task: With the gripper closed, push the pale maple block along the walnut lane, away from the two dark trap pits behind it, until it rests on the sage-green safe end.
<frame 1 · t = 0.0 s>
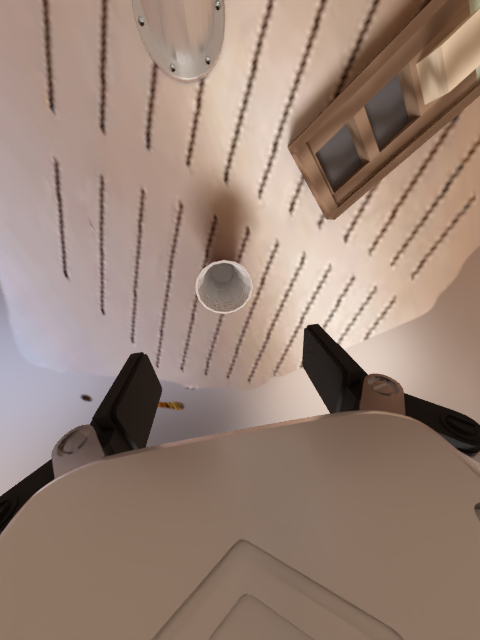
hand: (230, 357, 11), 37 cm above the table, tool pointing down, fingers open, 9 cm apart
maple block: (438, 69, 32), point 2 cm above the table, touching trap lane
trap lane: (399, 101, 35), on the table
plastic cup: (222, 272, 46), on the table
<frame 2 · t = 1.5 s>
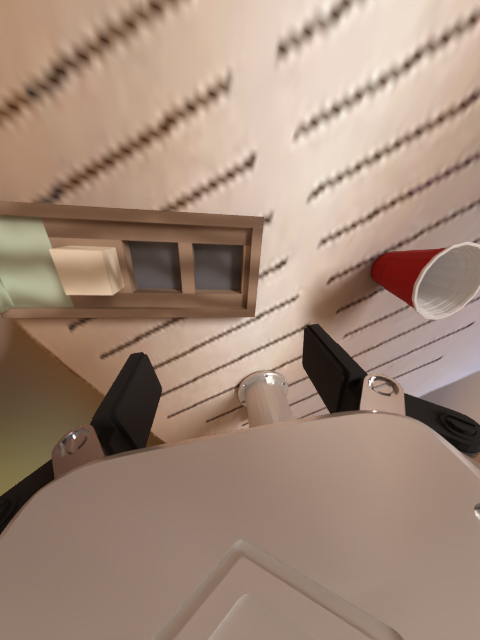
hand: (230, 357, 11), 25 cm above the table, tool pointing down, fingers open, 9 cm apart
maple block: (99, 267, 29), point 2 cm above the table, touching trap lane
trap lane: (136, 265, 32), on the table
plastic cup: (385, 266, 37), on the table
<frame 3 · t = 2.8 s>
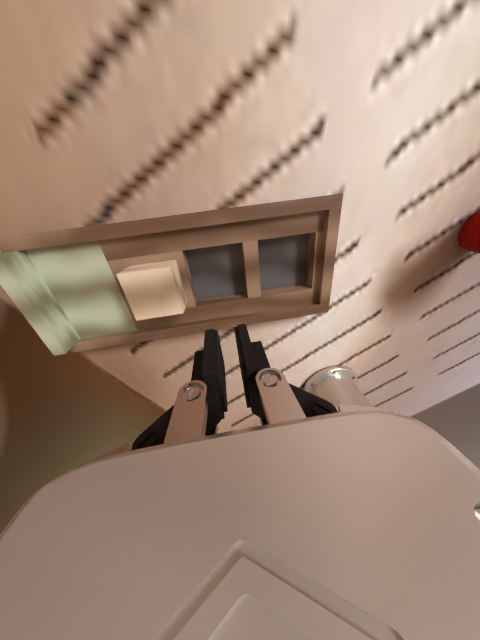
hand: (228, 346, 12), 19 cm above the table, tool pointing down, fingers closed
maple block: (160, 284, 27), point 2 cm above the table, touching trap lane
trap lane: (194, 275, 29), on the table
plastic cup: (475, 227, 31), on the table
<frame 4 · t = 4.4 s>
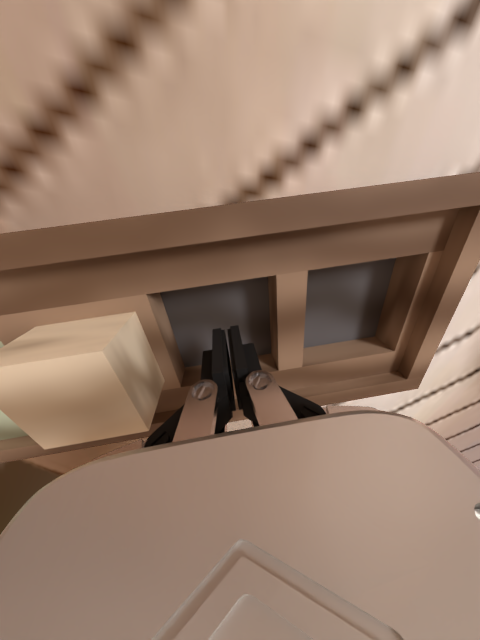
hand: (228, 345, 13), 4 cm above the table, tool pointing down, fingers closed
maple block: (108, 356, 13), point 2 cm above the table, touching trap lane
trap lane: (179, 328, 16), on the table
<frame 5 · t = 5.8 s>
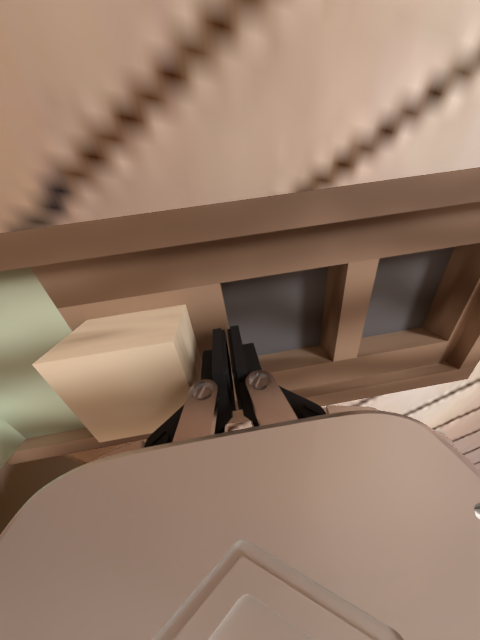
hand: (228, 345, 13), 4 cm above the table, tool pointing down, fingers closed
maple block: (153, 350, 13), point 2 cm above the table, touching gripper, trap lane
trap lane: (233, 319, 16), on the table
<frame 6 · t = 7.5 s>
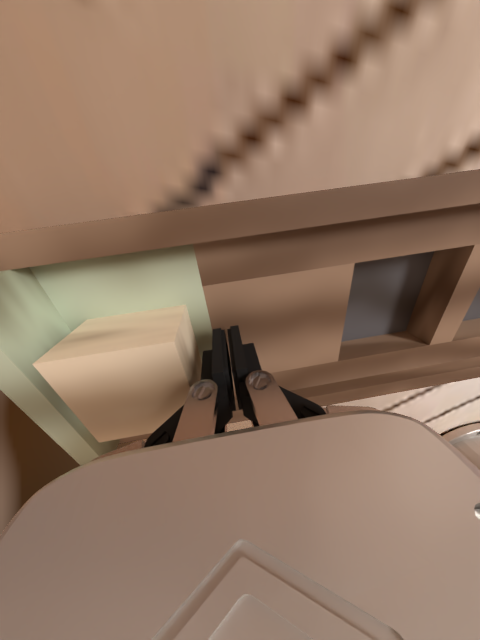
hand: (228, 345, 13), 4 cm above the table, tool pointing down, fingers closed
maple block: (153, 350, 13), point 3 cm above the table, touching gripper
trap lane: (333, 304, 16), on the table
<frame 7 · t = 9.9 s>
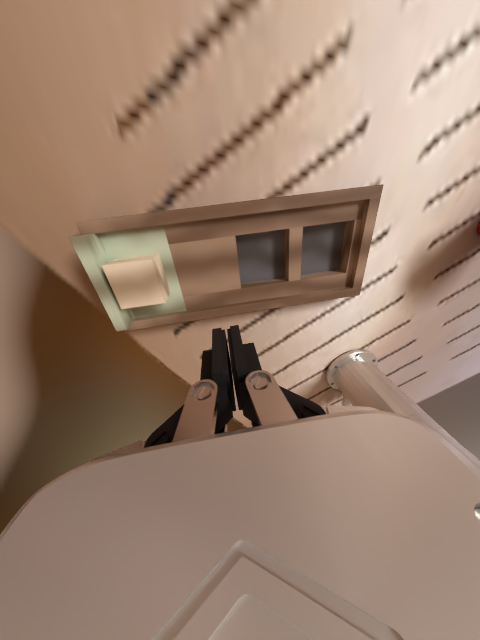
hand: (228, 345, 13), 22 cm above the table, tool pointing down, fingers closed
maple block: (144, 276, 29), point 2 cm above the table, touching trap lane
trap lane: (239, 260, 32), on the table
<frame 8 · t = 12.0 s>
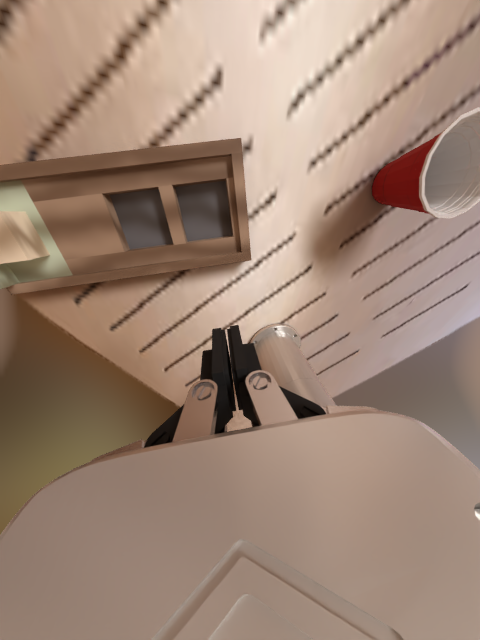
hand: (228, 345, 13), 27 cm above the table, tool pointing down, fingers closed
maple block: (17, 236, 29), point 2 cm above the table, touching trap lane
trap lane: (123, 223, 32), on the table
plastic cup: (387, 182, 33), on the table
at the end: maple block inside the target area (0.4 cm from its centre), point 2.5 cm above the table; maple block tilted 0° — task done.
